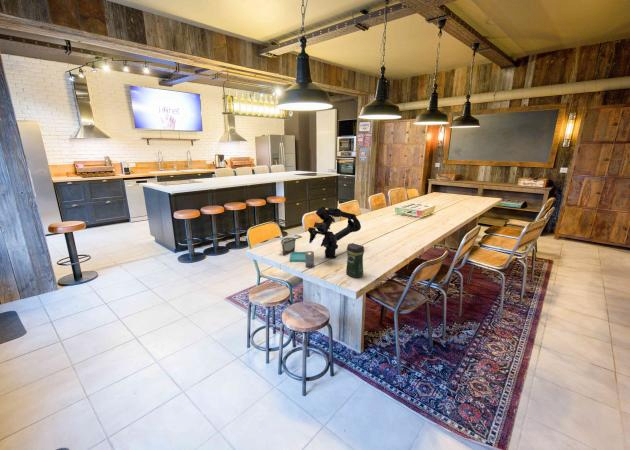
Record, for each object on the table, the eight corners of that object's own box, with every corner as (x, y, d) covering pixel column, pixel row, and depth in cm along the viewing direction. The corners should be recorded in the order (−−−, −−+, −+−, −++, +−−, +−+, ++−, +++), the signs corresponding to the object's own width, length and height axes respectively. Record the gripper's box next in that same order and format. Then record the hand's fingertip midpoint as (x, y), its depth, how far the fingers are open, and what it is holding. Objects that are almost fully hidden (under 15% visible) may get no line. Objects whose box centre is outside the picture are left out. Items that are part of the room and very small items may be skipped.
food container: (289, 249, 212) (289, 236, 209) (296, 251, 208) (295, 237, 206) (277, 254, 203) (276, 240, 200) (283, 256, 199) (283, 242, 196)
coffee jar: (365, 275, 169) (366, 245, 165) (356, 279, 164) (357, 248, 160) (352, 270, 176) (353, 240, 172) (343, 274, 171) (344, 243, 167)
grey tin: (313, 264, 185) (313, 251, 183) (314, 267, 180) (313, 254, 178) (305, 264, 185) (305, 251, 183) (305, 267, 180) (305, 254, 178)
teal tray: (311, 254, 203) (311, 251, 202) (311, 261, 189) (311, 259, 189) (290, 254, 203) (290, 252, 202) (289, 261, 189) (289, 259, 189)
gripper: (309, 214, 189) (298, 235, 183) (332, 219, 177) (321, 241, 172) (316, 224, 197) (306, 244, 191) (340, 229, 185) (329, 250, 180)
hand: (315, 244), depth 183 cm, fingers open, 9 cm apart
